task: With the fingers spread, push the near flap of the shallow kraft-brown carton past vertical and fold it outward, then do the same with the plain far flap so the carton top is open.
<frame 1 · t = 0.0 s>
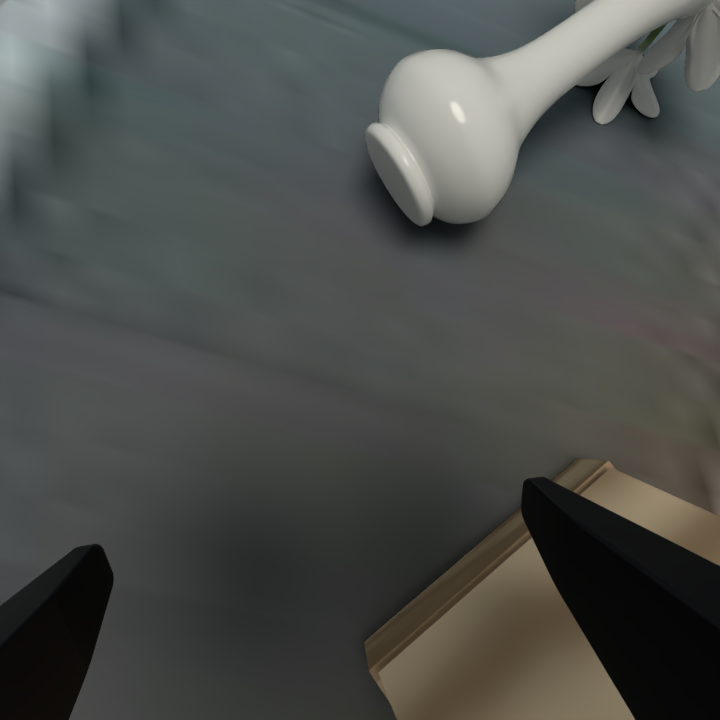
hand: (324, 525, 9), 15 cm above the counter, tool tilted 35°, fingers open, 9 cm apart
flower vase: (528, 136, 29), on the counter
carton: (549, 643, 22), on the counter
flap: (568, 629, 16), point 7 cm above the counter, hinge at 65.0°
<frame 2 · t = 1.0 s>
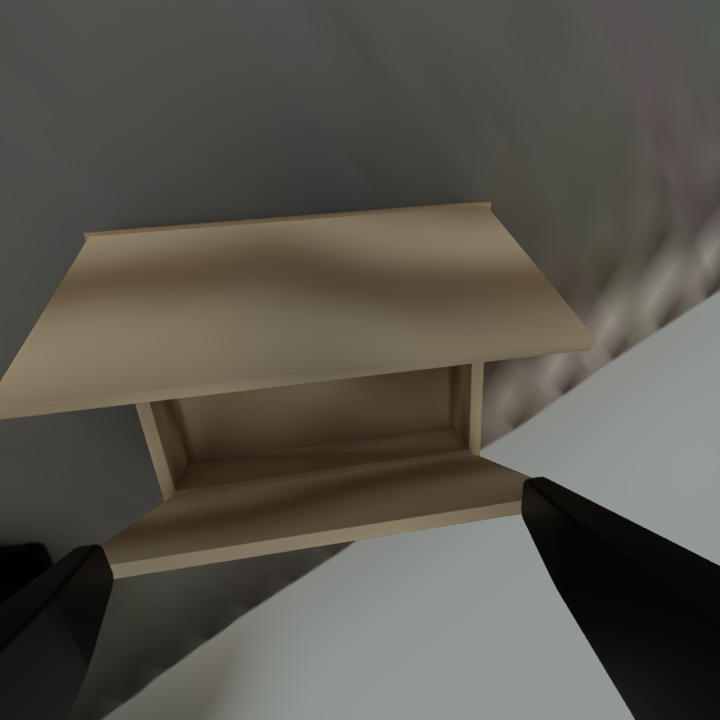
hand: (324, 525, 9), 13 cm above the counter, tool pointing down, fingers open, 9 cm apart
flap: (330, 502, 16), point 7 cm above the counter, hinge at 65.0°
carton: (313, 344, 21), on the counter
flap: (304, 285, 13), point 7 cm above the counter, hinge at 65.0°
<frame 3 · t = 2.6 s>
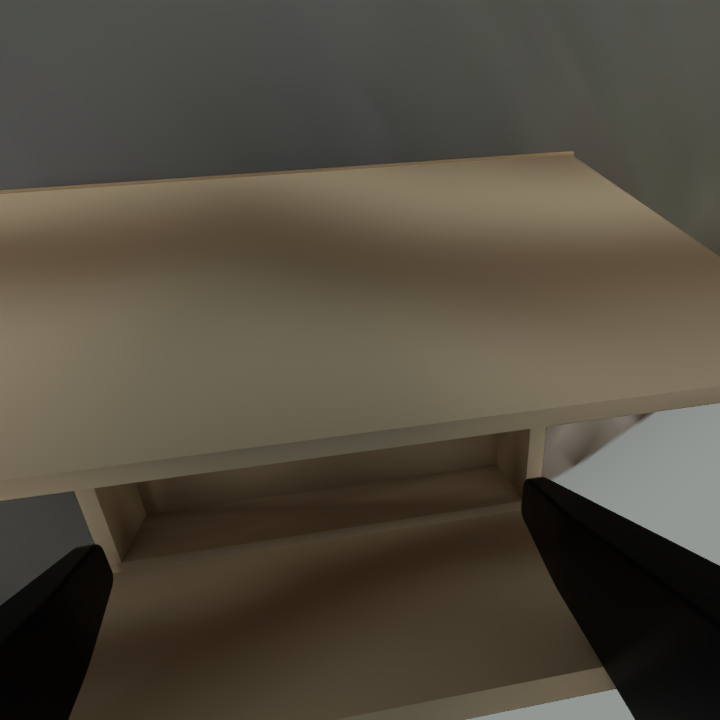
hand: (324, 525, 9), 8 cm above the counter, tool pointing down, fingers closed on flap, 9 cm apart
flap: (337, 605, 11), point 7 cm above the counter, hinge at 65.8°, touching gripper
carton: (312, 358, 15), on the counter
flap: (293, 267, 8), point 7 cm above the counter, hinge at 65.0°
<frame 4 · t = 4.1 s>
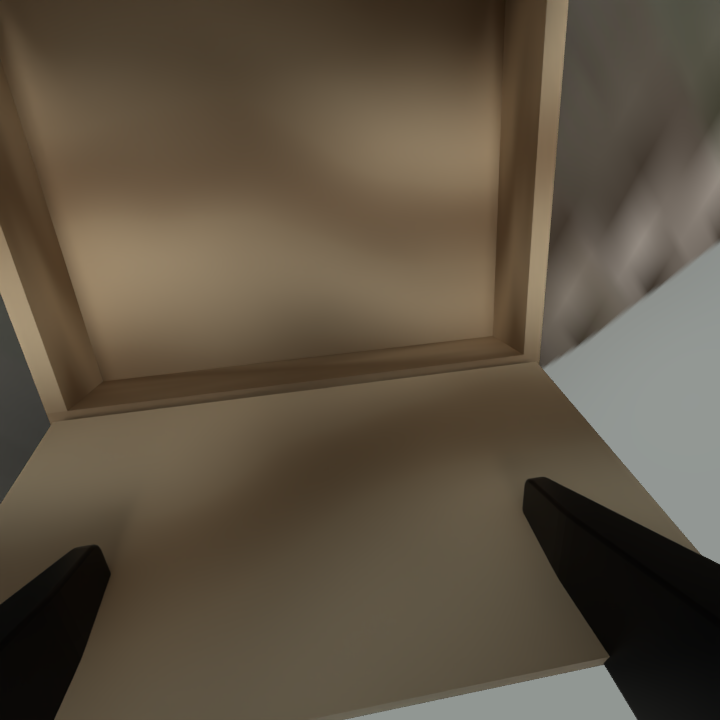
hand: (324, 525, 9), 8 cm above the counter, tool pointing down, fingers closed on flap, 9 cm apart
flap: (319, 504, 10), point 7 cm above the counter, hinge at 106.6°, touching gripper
carton: (287, 197, 14), on the counter
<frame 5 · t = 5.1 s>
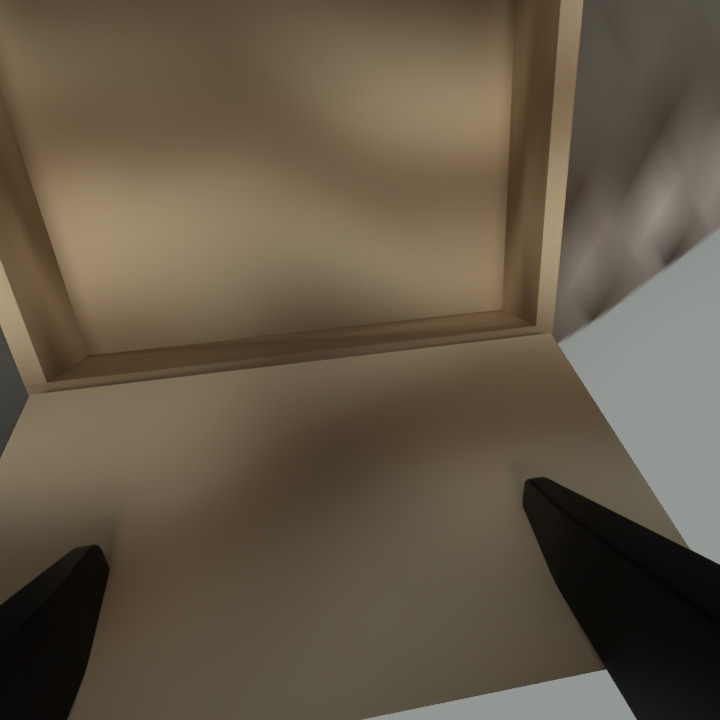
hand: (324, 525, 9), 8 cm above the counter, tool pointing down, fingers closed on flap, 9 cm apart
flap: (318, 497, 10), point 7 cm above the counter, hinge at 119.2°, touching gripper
carton: (282, 156, 13), on the counter
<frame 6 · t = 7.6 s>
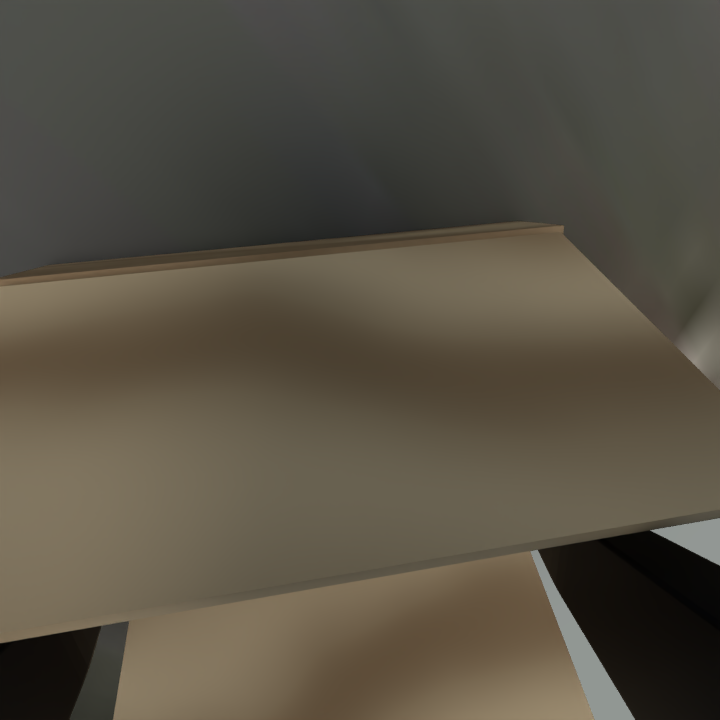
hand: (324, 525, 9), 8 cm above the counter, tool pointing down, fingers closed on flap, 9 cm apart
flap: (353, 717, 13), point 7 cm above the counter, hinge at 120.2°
carton: (317, 404, 16), on the counter
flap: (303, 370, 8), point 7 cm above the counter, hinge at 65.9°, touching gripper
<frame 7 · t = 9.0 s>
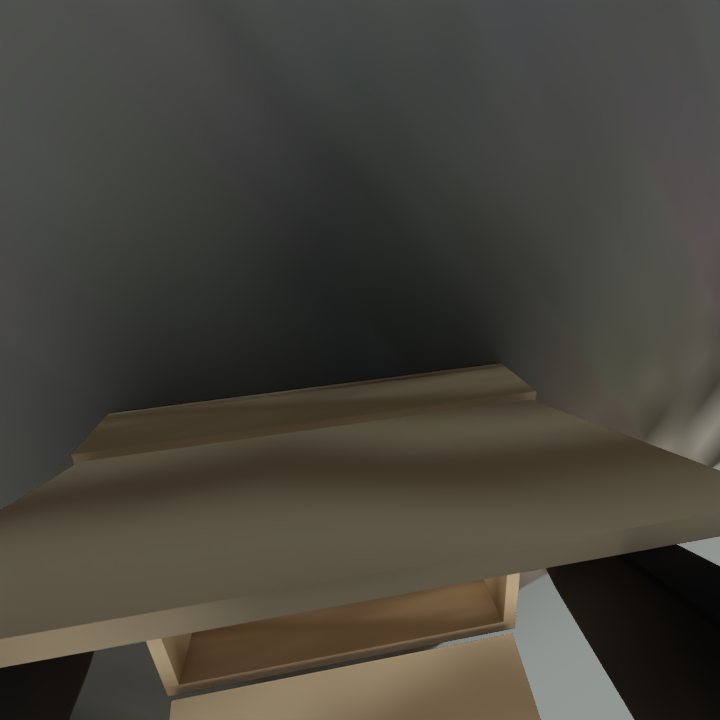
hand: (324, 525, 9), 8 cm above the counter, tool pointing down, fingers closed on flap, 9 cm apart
carton: (330, 509, 19), on the counter
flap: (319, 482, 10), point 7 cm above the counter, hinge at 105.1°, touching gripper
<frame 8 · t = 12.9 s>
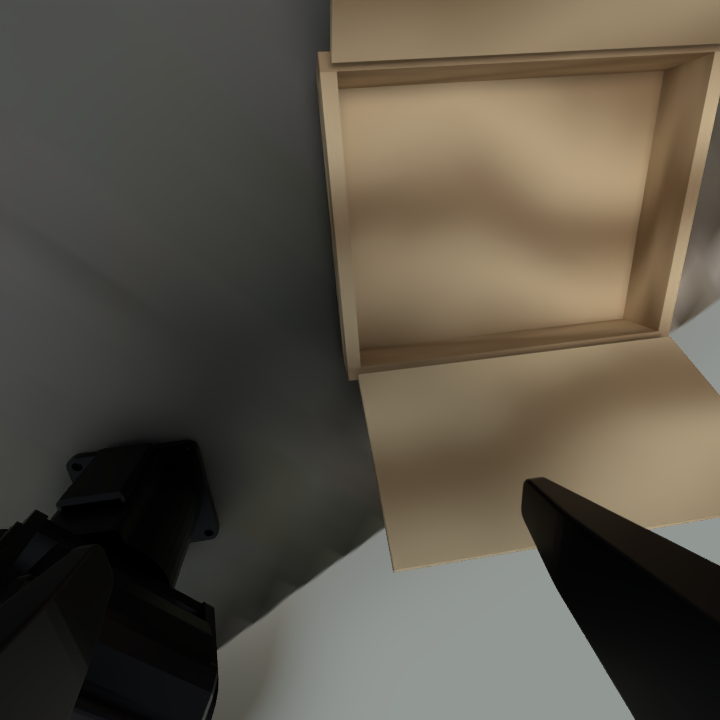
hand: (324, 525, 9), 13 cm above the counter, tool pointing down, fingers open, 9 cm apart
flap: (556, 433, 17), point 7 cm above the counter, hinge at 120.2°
carton: (494, 220, 20), on the counter
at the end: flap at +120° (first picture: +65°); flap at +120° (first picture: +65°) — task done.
